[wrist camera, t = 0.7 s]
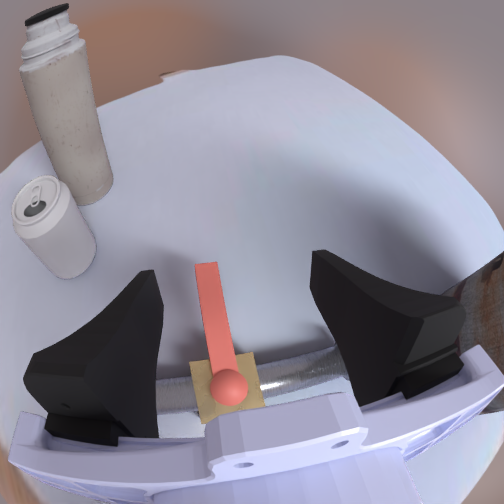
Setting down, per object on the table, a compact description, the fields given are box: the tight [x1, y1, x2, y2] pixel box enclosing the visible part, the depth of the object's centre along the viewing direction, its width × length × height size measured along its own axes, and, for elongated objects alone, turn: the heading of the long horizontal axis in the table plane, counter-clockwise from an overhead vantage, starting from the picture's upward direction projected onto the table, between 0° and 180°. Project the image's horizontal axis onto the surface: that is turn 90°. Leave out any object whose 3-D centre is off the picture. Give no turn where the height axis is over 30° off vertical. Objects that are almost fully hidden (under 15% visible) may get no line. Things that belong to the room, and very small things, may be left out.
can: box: [11, 175, 96, 279], centre depth 25 cm, size 8×8×12 cm
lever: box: [195, 262, 248, 406], centre depth 24 cm, size 14×3×1 cm, turn 12°
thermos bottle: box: [19, 3, 113, 205], centre depth 24 cm, size 8×8×28 cm
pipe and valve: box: [156, 343, 350, 424], centre depth 24 cm, size 6×28×5 cm, turn 102°
